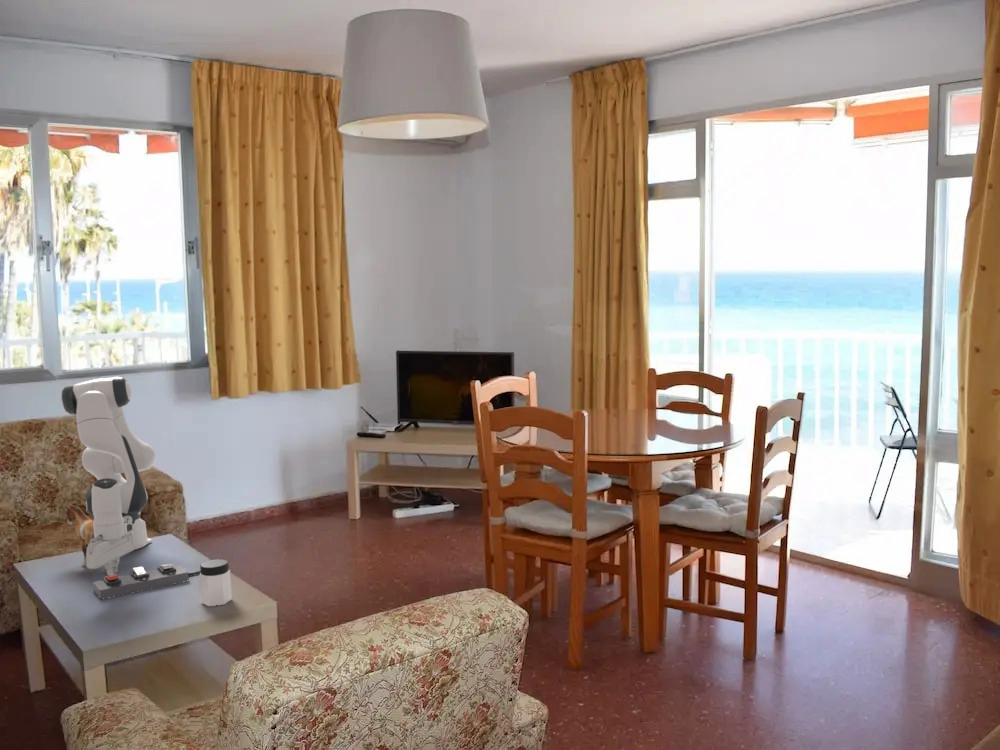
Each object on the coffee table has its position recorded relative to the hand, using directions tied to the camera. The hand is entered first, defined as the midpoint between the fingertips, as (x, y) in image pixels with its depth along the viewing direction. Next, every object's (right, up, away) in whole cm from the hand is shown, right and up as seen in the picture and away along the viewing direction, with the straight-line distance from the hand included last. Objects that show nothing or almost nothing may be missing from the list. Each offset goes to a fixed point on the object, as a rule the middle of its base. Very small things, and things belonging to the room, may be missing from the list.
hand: (112, 573), depth 292 cm
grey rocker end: (+13, 0, +11) cm, 17 cm away
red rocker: (-1, -2, +2) cm, 3 cm away
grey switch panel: (+10, -5, +8) cm, 13 cm away
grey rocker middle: (+6, -1, +7) cm, 9 cm away
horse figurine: (-20, -4, +24) cm, 31 cm away
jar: (+36, -6, -10) cm, 38 cm away
